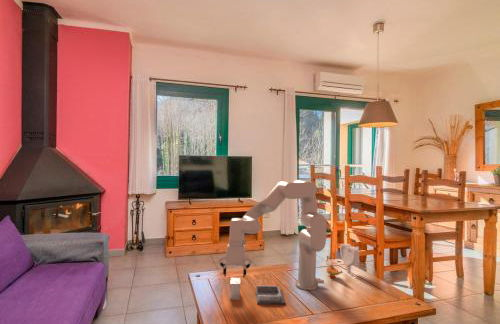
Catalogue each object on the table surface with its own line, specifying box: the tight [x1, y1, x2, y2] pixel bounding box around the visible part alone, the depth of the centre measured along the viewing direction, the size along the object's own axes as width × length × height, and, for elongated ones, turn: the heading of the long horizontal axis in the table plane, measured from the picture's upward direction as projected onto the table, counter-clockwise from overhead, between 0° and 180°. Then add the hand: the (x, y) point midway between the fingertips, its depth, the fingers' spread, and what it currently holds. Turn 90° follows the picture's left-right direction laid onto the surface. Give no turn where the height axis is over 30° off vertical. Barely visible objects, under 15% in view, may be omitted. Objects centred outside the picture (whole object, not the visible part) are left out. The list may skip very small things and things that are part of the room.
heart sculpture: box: [339, 243, 360, 277], centre depth 182 cm, size 16×5×18 cm, turn 14°
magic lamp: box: [325, 255, 344, 279], centre depth 175 cm, size 7×18×11 cm, turn 15°
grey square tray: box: [255, 284, 287, 306], centre depth 148 cm, size 14×14×4 cm
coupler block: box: [229, 277, 241, 300], centre depth 148 cm, size 5×7×8 cm
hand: (234, 276), depth 148 cm, fingers open, 9 cm apart
